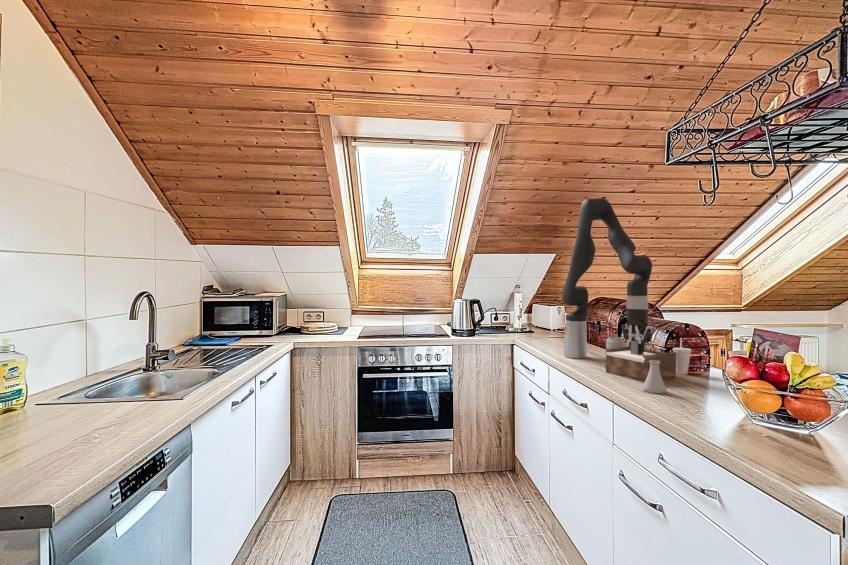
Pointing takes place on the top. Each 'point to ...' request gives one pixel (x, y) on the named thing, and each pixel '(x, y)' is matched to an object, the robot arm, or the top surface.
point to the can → (615, 342)
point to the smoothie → (682, 359)
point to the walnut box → (641, 365)
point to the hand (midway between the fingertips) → (636, 352)
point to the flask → (654, 379)
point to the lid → (630, 353)
